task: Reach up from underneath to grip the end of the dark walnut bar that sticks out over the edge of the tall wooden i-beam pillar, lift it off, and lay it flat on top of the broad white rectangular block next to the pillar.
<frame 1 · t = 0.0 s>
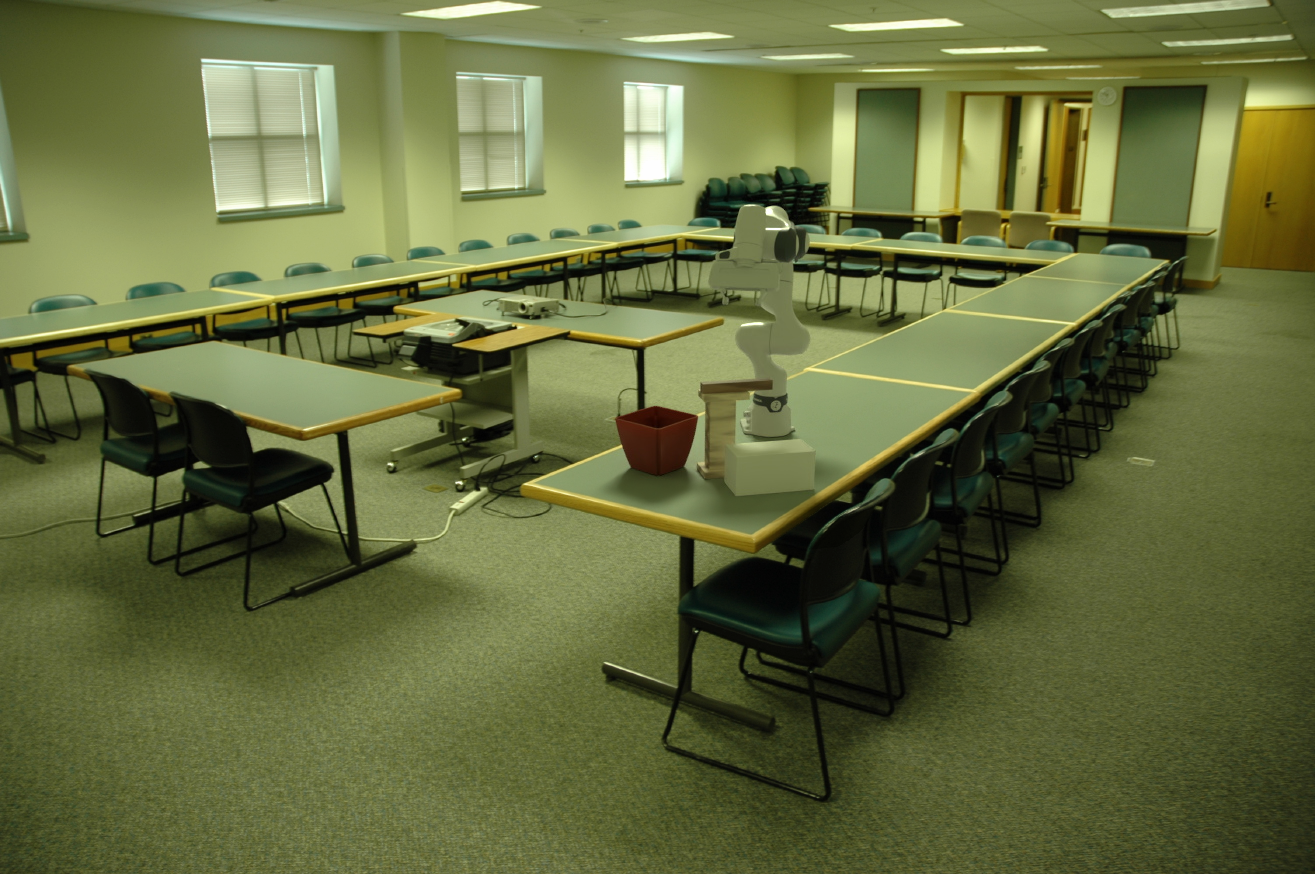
hand: (741, 304, 260), 54 cm above the table, tool tilted 30°, fingers open, 8 cm apart
walnut bar: (736, 390, 280), point 26 cm above the table, touching wooden i-beam pillar
plant pot: (657, 467, 292), on the table
wooden i-beam pillar: (722, 471, 287), on the table
white rectangular block: (768, 485, 275), on the table
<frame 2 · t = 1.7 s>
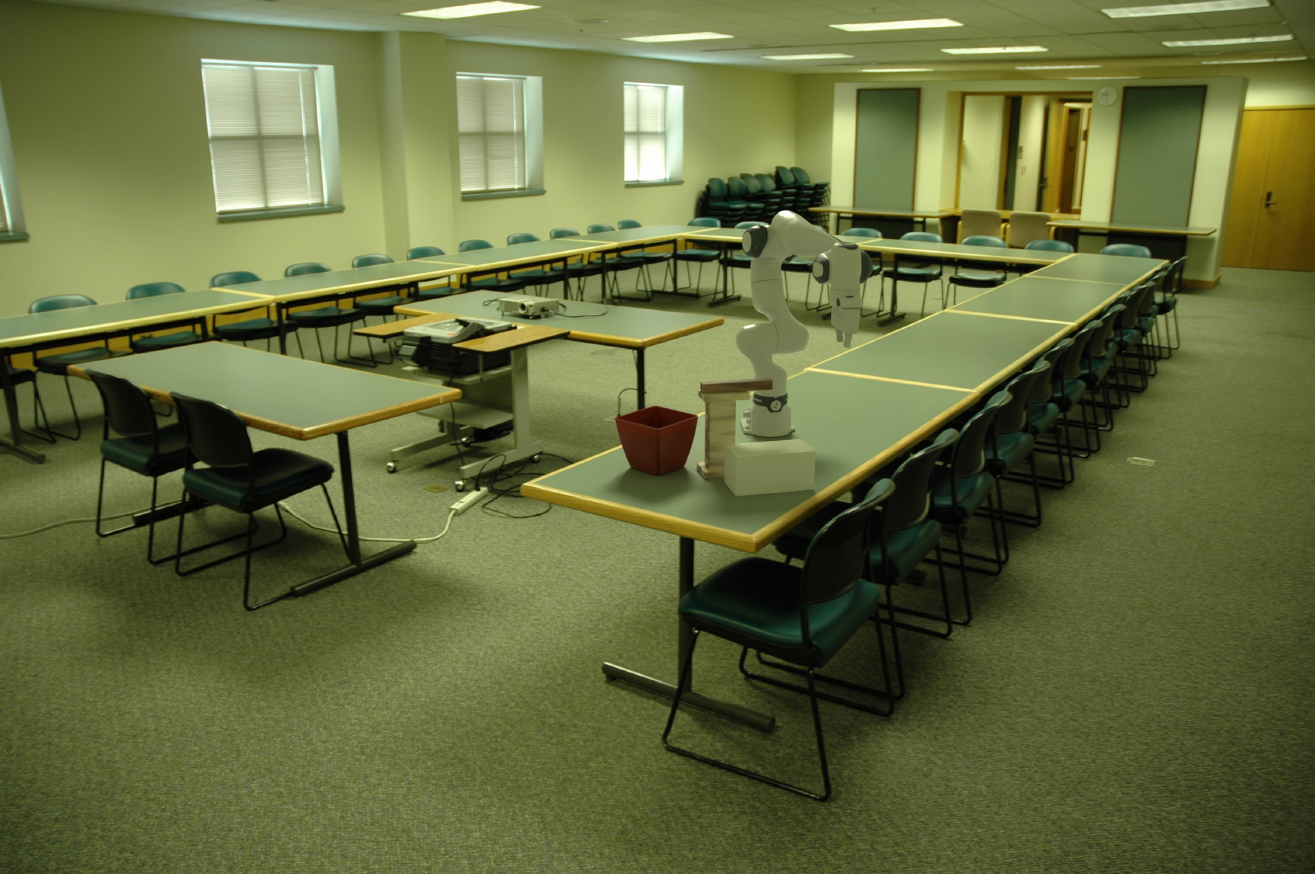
hand: (843, 344, 275), 40 cm above the table, tool pointing down, fingers open, 8 cm apart
nothing on the table moved.
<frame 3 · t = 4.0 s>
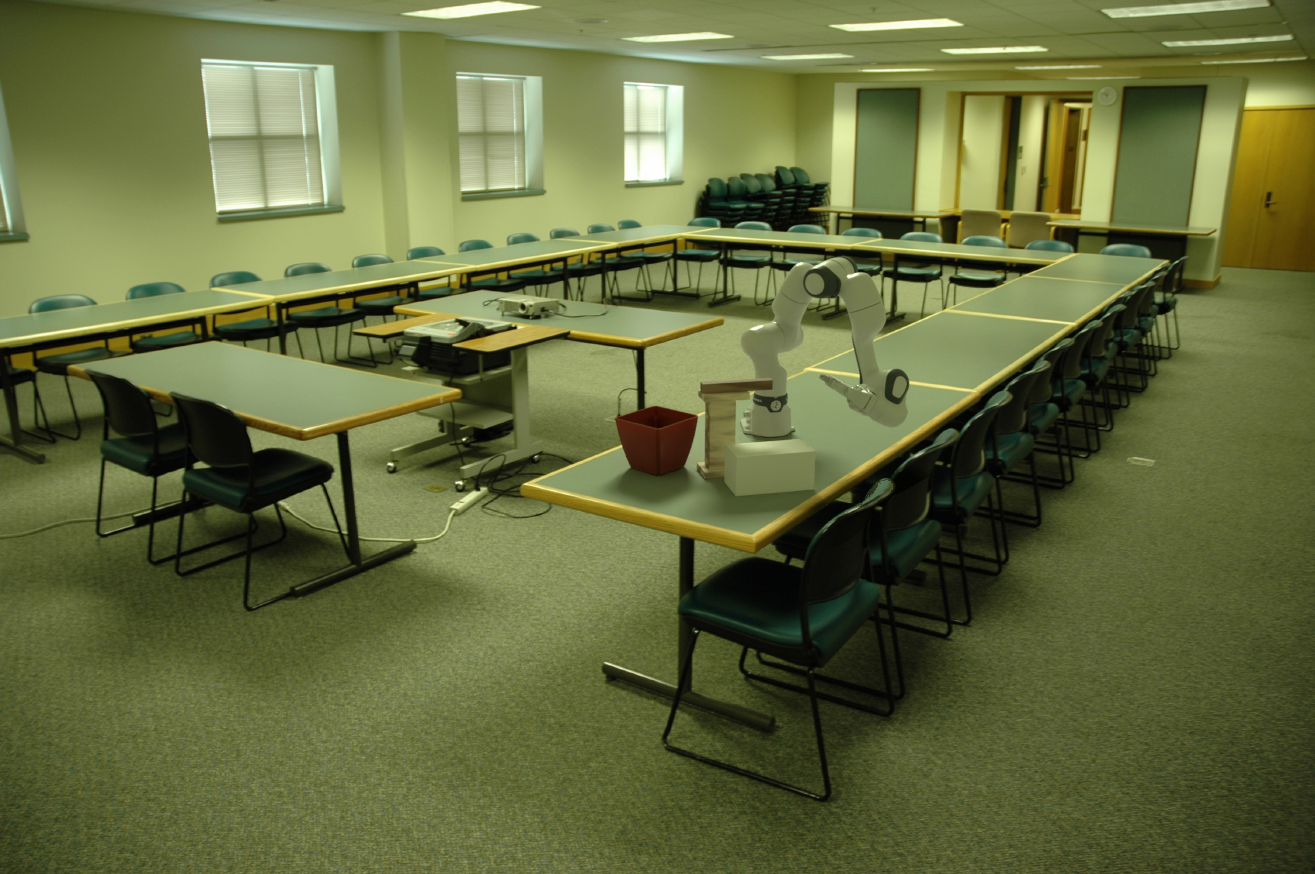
hand: (826, 379, 285), 28 cm above the table, tool pointing upward, fingers open, 8 cm apart
nothing on the table moved.
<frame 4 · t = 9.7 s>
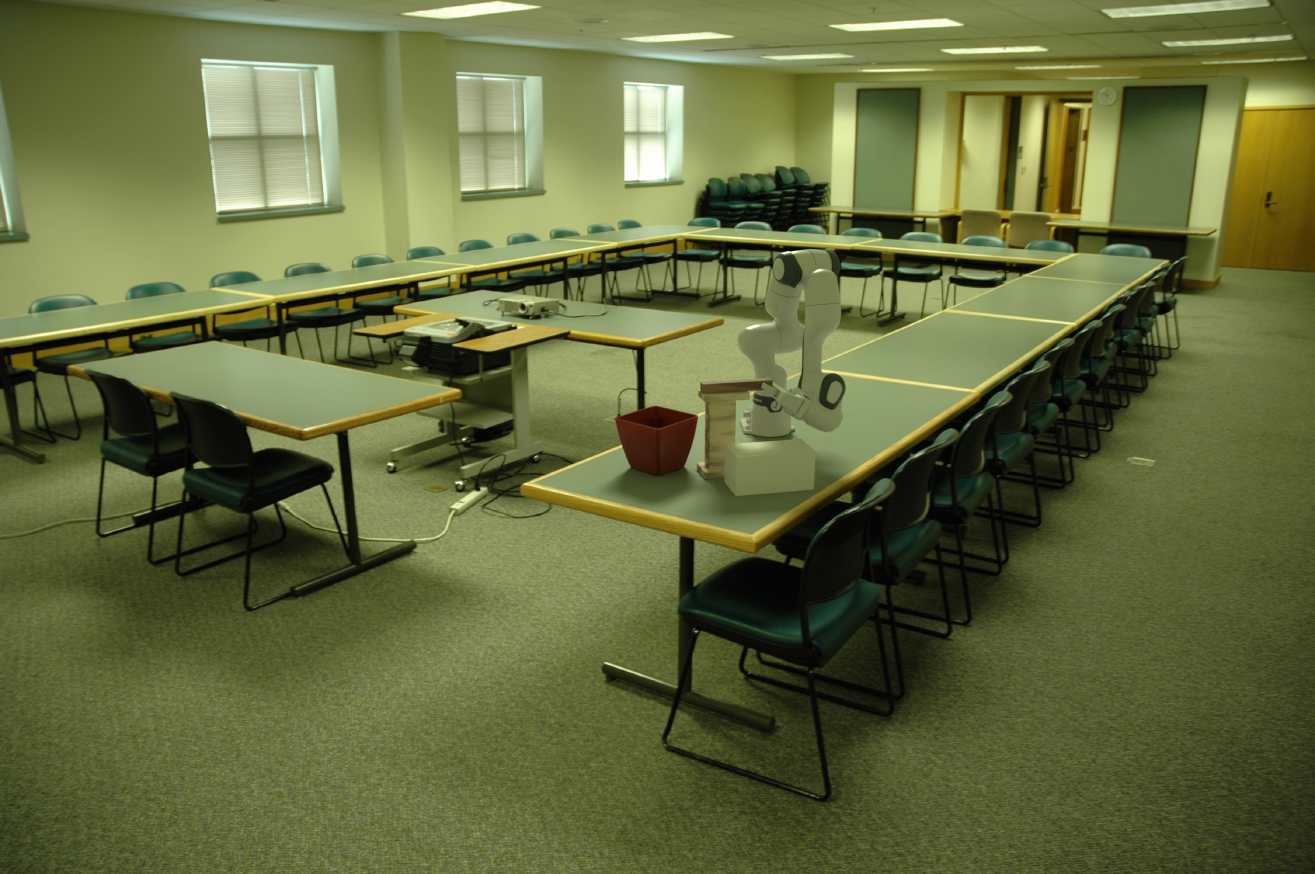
hand: (759, 382, 281), 28 cm above the table, tool pointing upward, fingers closed on walnut bar, 3 cm apart
walnut bar: (736, 390, 280), point 26 cm above the table, touching gripper, wooden i-beam pillar
everything else where it was.
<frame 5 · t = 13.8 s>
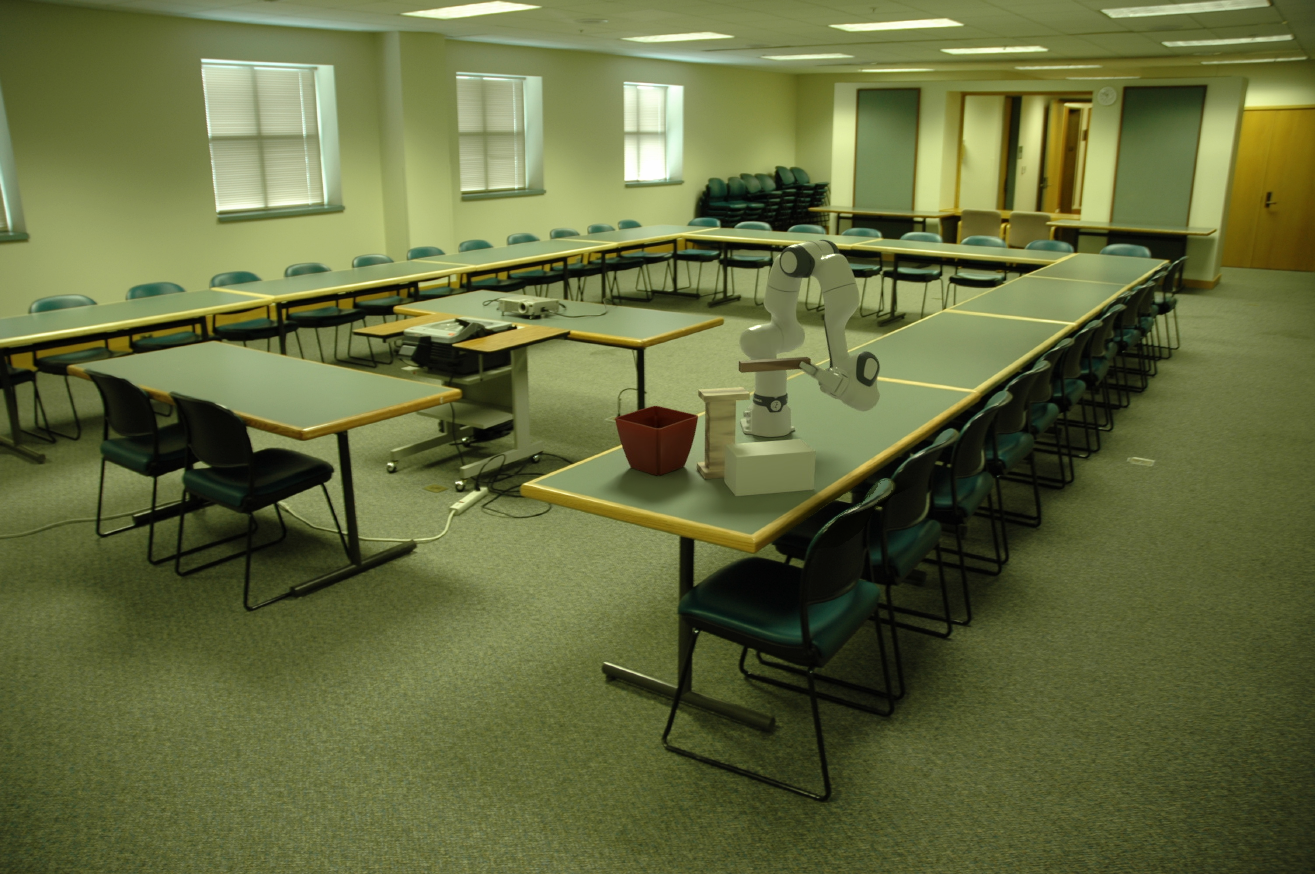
hand: (797, 361, 281), 34 cm above the table, tool pointing upward, fingers closed on walnut bar, 3 cm apart
walnut bar: (774, 369, 280), point 32 cm above the table, touching gripper
everything else where it was.
when the fingers open (19 cm above the table, at t = 18.3 s): walnut bar drops 5 cm, resting on white rectangular block.
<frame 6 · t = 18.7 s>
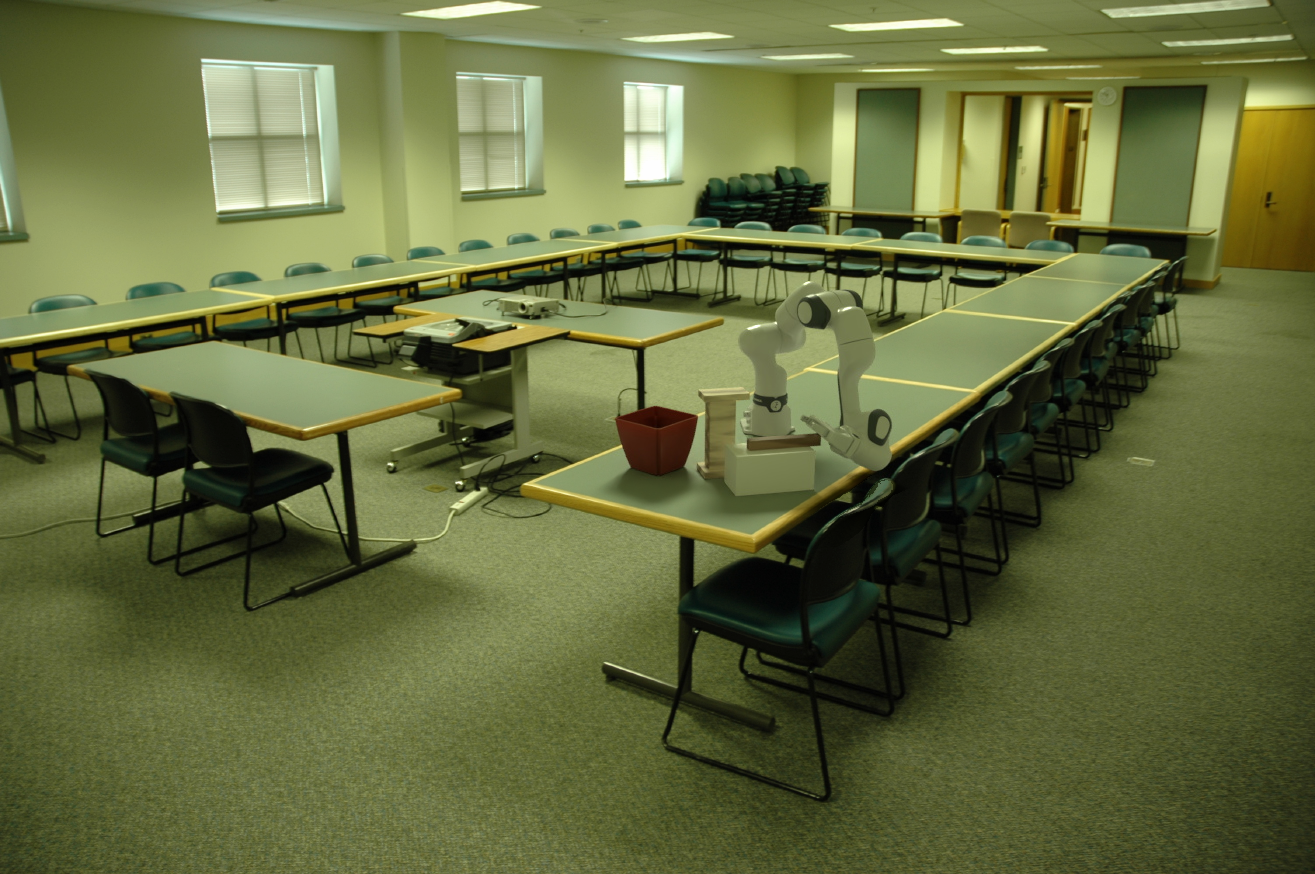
hand: (806, 421, 271), 19 cm above the table, tool pointing upward, fingers open, 7 cm apart
walnut bar: (783, 446, 272), point 12 cm above the table, touching white rectangular block
everything else where it was.
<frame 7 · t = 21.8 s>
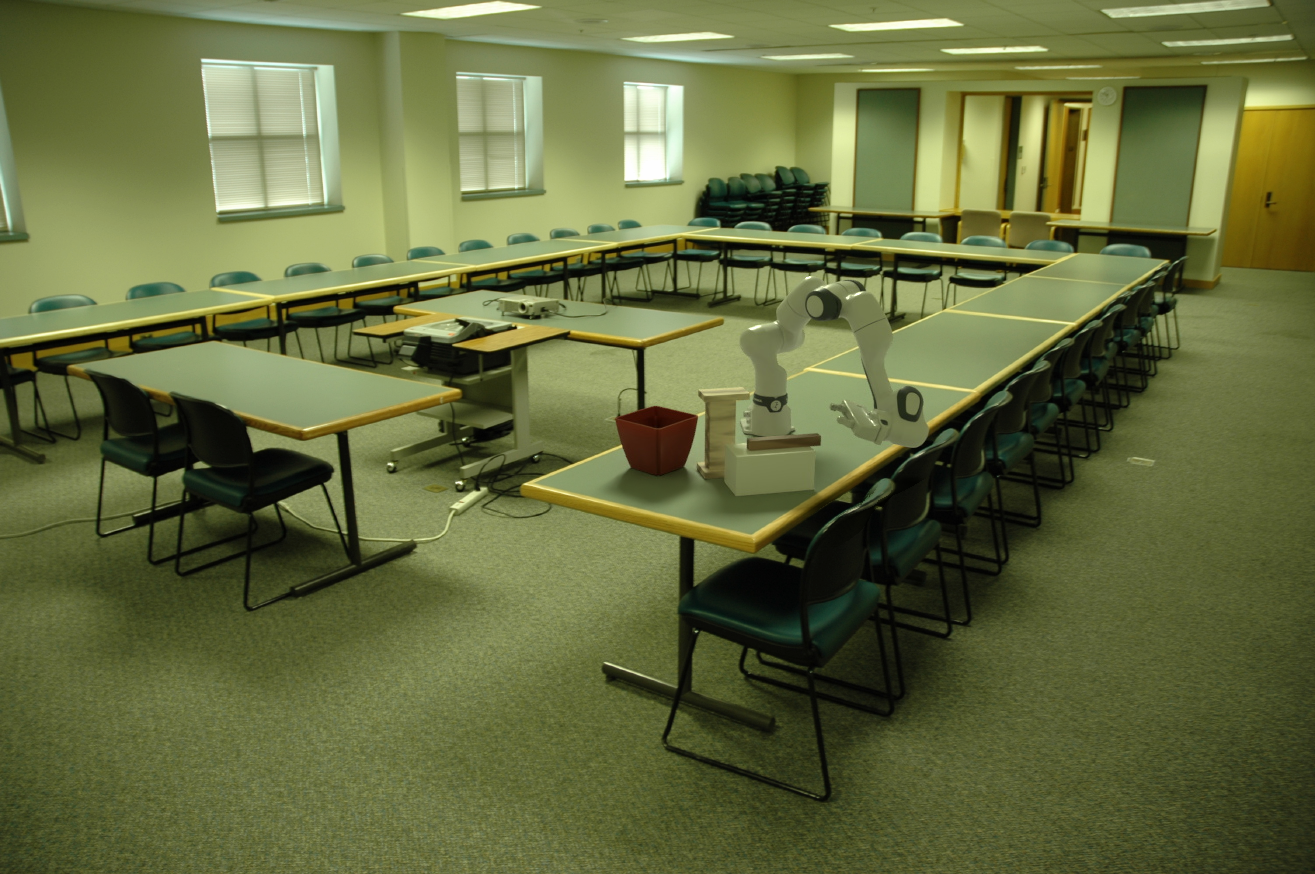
hand: (834, 412, 275), 21 cm above the table, tool pointing upward, fingers open, 8 cm apart
nothing on the table moved.
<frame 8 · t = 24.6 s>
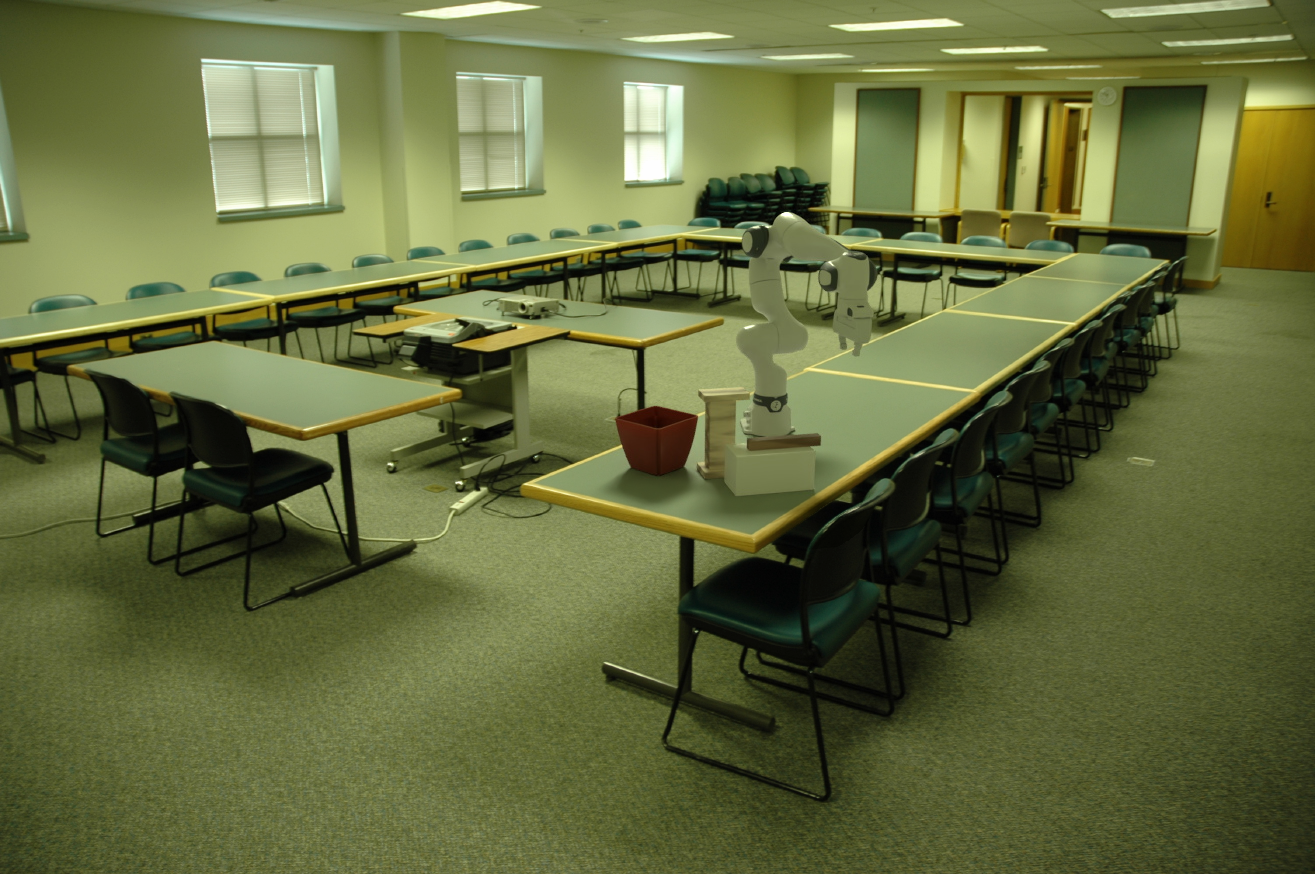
hand: (849, 352, 279), 37 cm above the table, tool pointing down, fingers open, 8 cm apart
nothing on the table moved.
at the end: walnut bar inside the target area on the white rectangular block (3.8 cm from its centre), point 12.0 cm above the white rectangular block's base; walnut bar tilted 0°; the gripper is holding nothing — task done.
